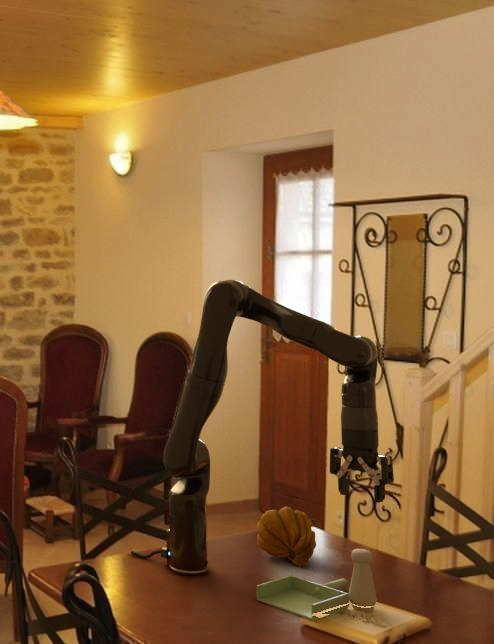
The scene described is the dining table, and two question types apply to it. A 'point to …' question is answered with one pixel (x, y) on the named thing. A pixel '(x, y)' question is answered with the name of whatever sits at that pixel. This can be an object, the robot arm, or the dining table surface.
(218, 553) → the dining table surface
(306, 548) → the pumpkin
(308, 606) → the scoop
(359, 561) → the salt shaker
